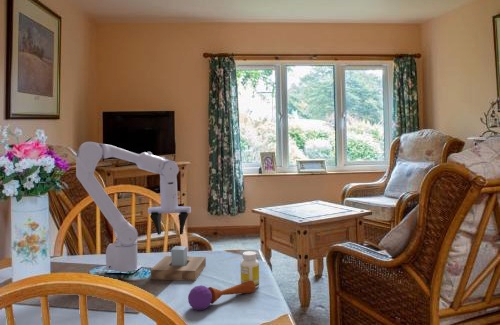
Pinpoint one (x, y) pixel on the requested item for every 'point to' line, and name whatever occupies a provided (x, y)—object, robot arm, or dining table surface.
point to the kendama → (215, 294)
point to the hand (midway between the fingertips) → (170, 233)
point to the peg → (179, 256)
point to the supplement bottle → (250, 268)
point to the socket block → (178, 269)
